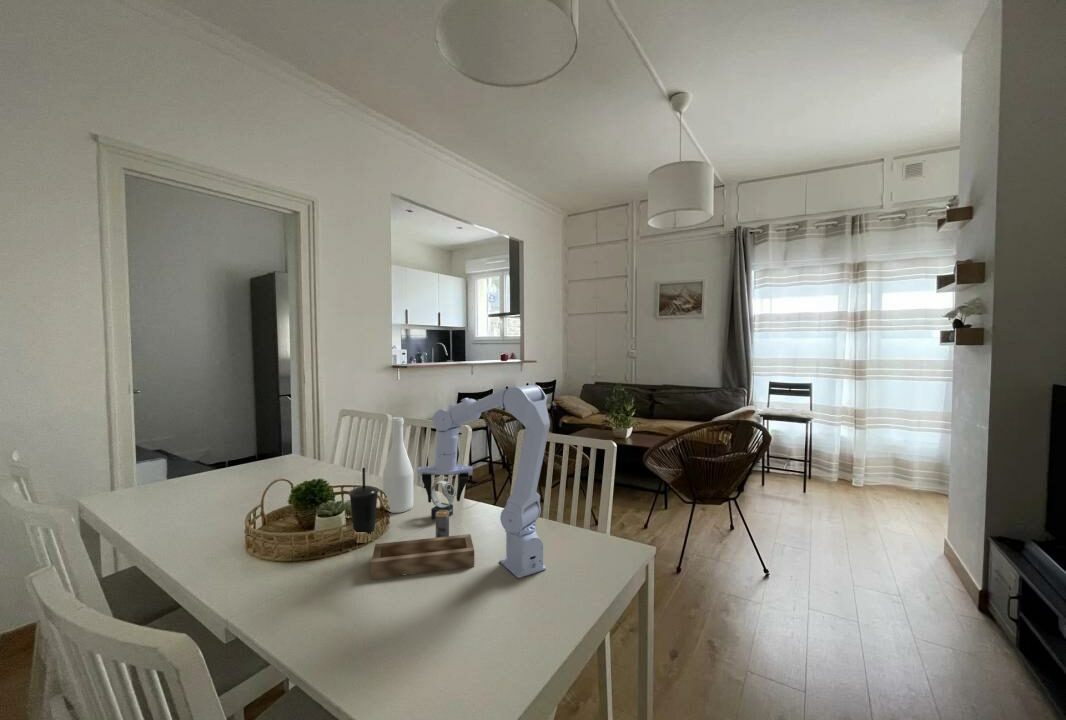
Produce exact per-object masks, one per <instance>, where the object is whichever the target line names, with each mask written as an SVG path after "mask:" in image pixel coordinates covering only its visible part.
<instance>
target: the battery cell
mask: <svg viewBox="0 0 1066 720" xmlns="http://www.w3.org/2000/svg"><path fill="white" fill-rule="evenodd" d="M447 536H450V517H449V511H448V510H439V511H437V512H436V520H435V538H438V537H447Z"/></svg>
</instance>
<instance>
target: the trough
mask: <svg viewBox="0 0 1066 720" xmlns="http://www.w3.org/2000/svg"><path fill="white" fill-rule="evenodd" d="M473 543H474V542H473V540H472V536H471V534H470V533H468V534H461V535H460V534H459V535H449V536H447V537H438V538H436V537H430V538H429V537H428V538H422V539H421V538H420V539H413V540H411V539H410V540H409V539H408V540H402V541H401V540H400V541H391V542H382V543H375V544H374V548H373V553H372V555H371V556H372V558H371V559H370V578H371V580H377V578H378V579H385V578H384V577H386V578H391V577H390V576H394V577H398V576H397V575H403V576H405V575H404V574H411V575H414V574H413V573H419V574H421V573H420V572H427V573H432V572H433V571H435V572H440V571H439V570H443V571H447V570H446V569H451V570H458V569H457V568H459V569H467V568H474V567H475V548H474V544H473Z"/></svg>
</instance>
